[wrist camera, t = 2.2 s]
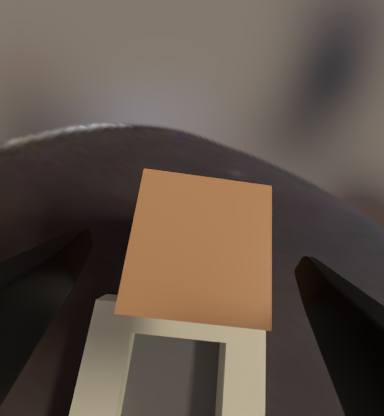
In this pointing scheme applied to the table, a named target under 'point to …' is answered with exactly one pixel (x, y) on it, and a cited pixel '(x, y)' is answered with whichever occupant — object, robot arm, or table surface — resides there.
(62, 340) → the table surface
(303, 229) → the table surface
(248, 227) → the plug
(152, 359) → the socket
